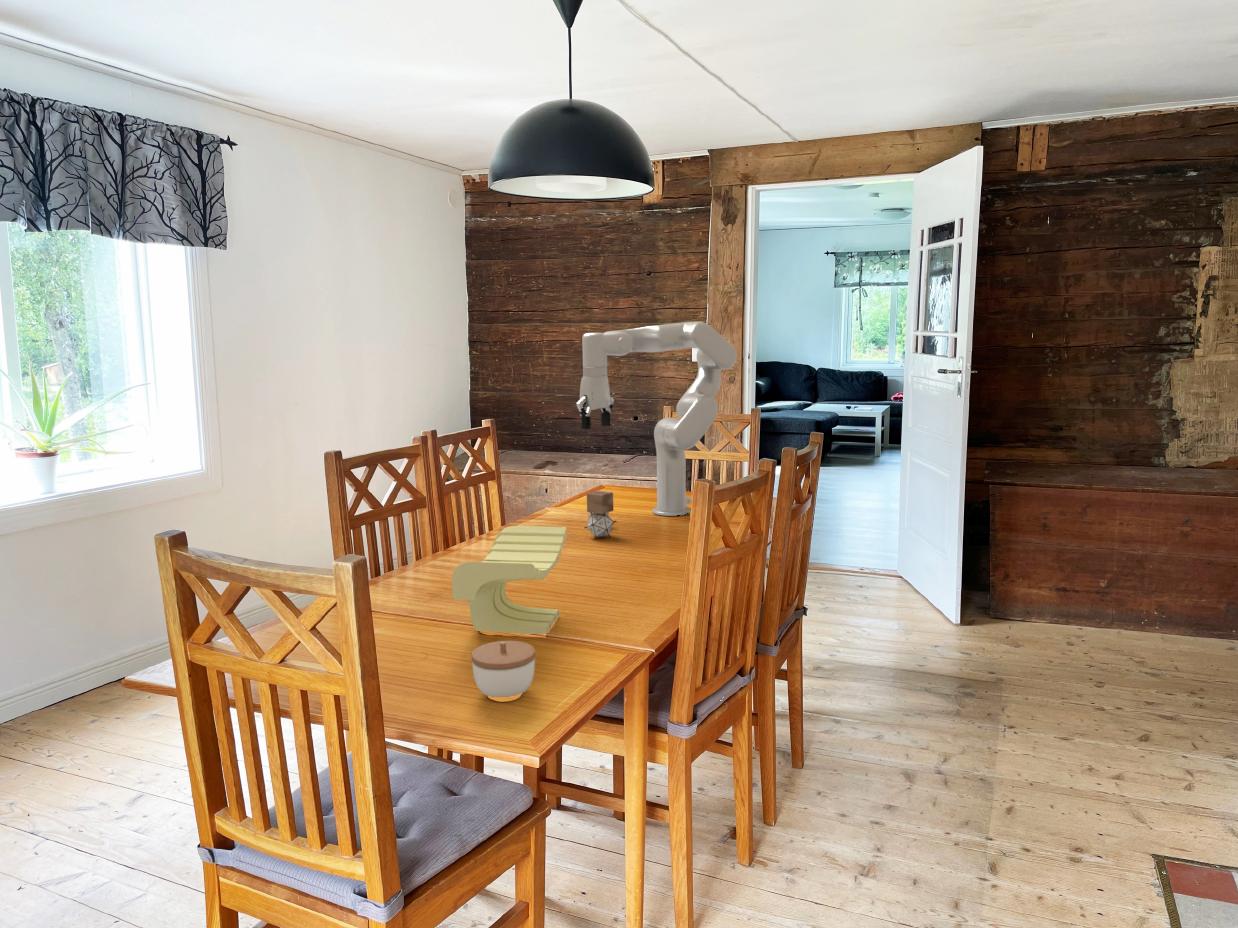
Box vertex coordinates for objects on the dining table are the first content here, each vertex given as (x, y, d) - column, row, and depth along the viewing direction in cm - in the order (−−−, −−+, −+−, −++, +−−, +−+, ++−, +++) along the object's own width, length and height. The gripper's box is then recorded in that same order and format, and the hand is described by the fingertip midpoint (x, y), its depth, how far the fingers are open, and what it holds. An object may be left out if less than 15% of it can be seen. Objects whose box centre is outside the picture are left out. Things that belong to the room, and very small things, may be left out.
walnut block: (598, 508, 258) (598, 490, 257) (613, 510, 254) (613, 492, 254) (587, 511, 253) (586, 493, 253) (601, 514, 250) (601, 495, 249)
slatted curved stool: (500, 601, 197) (497, 525, 194) (568, 603, 195) (566, 526, 192) (455, 649, 168) (450, 561, 165) (534, 653, 166) (531, 563, 163)
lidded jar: (461, 703, 144) (458, 649, 143) (492, 678, 154) (490, 628, 153) (518, 712, 140) (516, 657, 139) (547, 686, 150) (545, 635, 149)
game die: (606, 550, 255) (615, 528, 248) (578, 541, 254) (587, 518, 248) (612, 530, 261) (621, 507, 255) (585, 520, 261) (594, 498, 255)
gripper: (603, 371, 278) (604, 424, 280) (567, 374, 264) (569, 429, 267) (621, 371, 273) (622, 425, 276) (586, 374, 260) (587, 431, 262)
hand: (596, 427), depth 271 cm, fingers open, 9 cm apart
